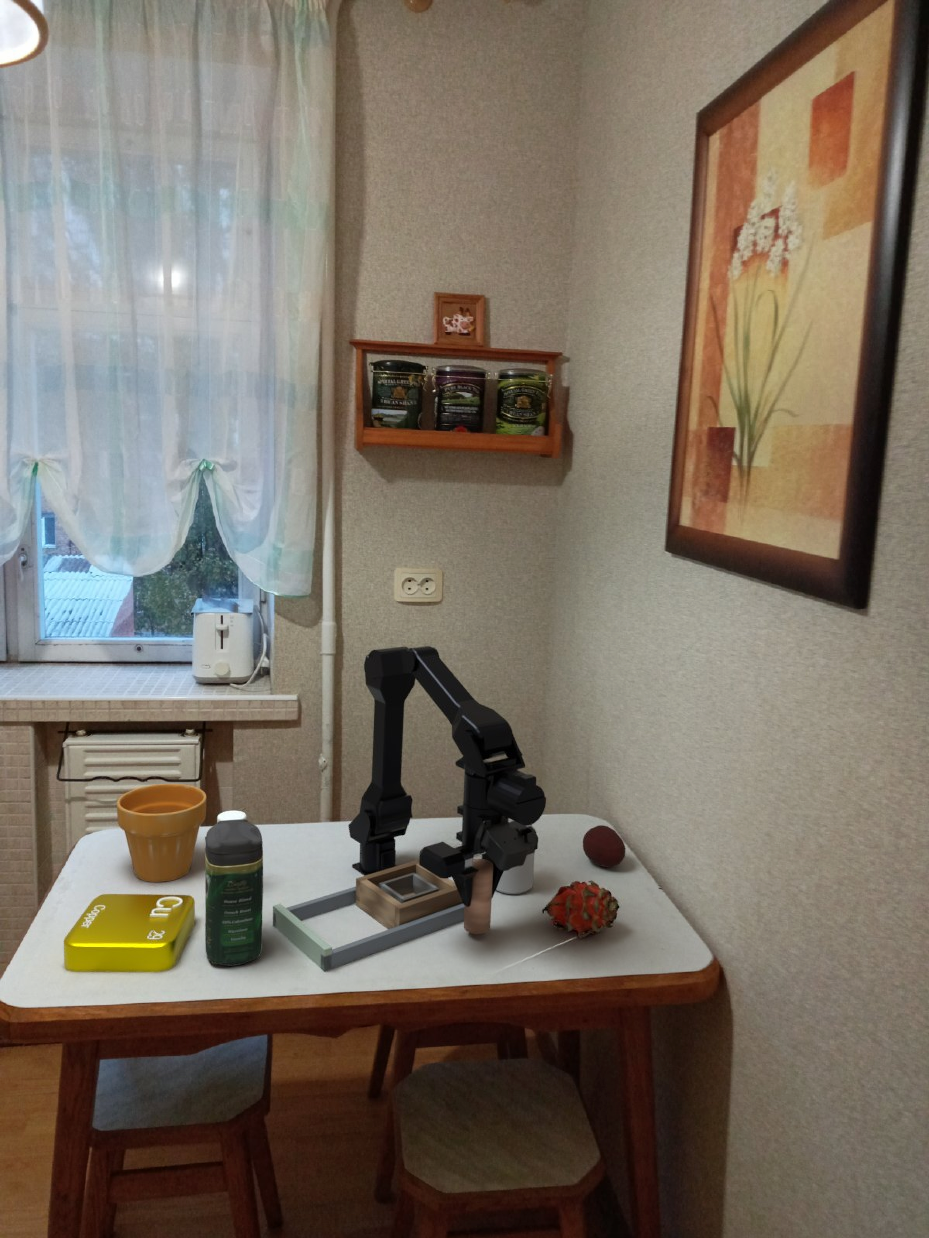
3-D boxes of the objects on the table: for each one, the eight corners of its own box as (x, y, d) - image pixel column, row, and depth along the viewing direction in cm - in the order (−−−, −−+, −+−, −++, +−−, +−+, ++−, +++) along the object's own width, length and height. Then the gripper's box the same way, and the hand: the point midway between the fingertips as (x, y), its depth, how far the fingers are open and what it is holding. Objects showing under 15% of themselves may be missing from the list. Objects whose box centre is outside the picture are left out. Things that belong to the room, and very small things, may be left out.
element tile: (97, 919, 135) (96, 889, 135) (197, 919, 136) (197, 890, 136) (59, 974, 121) (58, 941, 120) (172, 975, 122) (171, 942, 121)
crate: (355, 904, 141) (356, 878, 141) (416, 885, 149) (417, 859, 148) (398, 936, 132) (399, 908, 132) (461, 914, 140) (462, 887, 139)
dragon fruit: (624, 944, 137) (546, 953, 136) (612, 892, 142) (538, 901, 142) (627, 919, 130) (546, 928, 130) (615, 866, 136) (537, 875, 136)
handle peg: (458, 925, 134) (460, 862, 132) (478, 917, 136) (481, 856, 135) (475, 936, 131) (478, 872, 129) (495, 928, 133) (498, 866, 132)
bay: (272, 927, 134) (272, 905, 134) (415, 881, 151) (416, 862, 150) (324, 973, 123) (324, 949, 122) (472, 918, 139) (473, 897, 139)
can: (529, 900, 146) (533, 831, 144) (484, 894, 147) (487, 825, 145) (535, 880, 153) (538, 814, 151) (492, 874, 155) (495, 809, 153)
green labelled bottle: (265, 964, 124) (266, 838, 121) (207, 971, 122) (205, 843, 119) (259, 929, 133) (259, 812, 130) (204, 936, 131) (203, 816, 128)
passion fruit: (603, 878, 155) (605, 840, 154) (573, 859, 162) (575, 823, 161) (635, 870, 159) (638, 833, 158) (604, 852, 166) (607, 816, 165)
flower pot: (221, 858, 157) (220, 787, 155) (182, 894, 143) (181, 818, 141) (146, 849, 159) (145, 779, 157) (101, 884, 145) (99, 808, 143)
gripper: (468, 835, 118) (463, 943, 121) (566, 806, 130) (560, 906, 133) (418, 809, 127) (415, 910, 130) (515, 784, 139) (510, 878, 141)
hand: (478, 901), depth 133 cm, fingers closed on handle peg, 4 cm apart
